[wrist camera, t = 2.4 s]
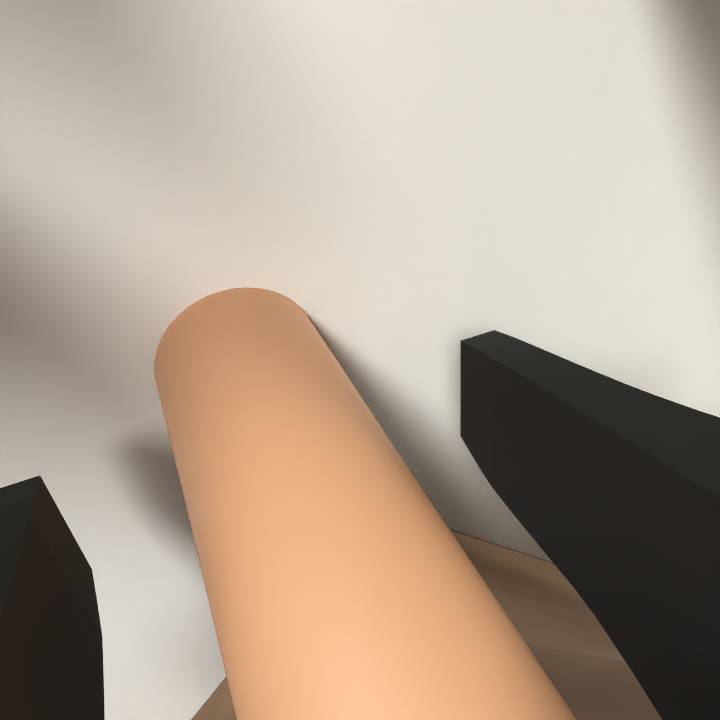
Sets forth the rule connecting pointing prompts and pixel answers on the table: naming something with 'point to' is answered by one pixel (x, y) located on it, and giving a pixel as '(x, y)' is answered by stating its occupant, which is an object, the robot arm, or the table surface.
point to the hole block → (539, 638)
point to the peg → (325, 536)
